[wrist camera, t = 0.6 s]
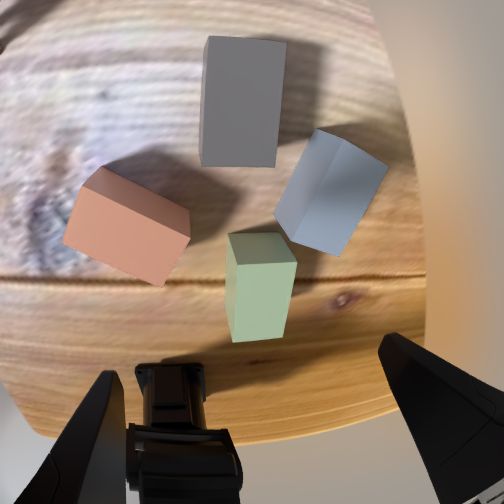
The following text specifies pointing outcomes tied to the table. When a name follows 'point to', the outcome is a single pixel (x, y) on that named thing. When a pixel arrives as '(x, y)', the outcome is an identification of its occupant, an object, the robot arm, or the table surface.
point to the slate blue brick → (328, 193)
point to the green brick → (258, 285)
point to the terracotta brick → (128, 227)
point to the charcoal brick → (240, 101)
